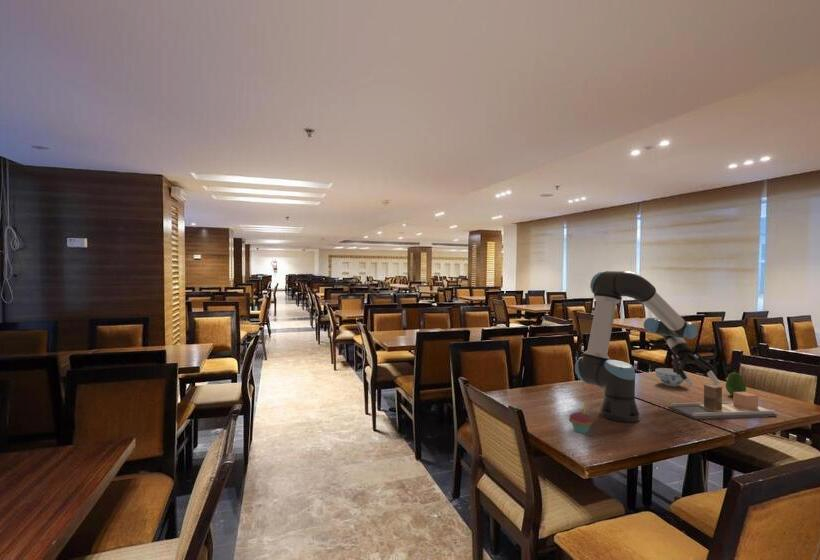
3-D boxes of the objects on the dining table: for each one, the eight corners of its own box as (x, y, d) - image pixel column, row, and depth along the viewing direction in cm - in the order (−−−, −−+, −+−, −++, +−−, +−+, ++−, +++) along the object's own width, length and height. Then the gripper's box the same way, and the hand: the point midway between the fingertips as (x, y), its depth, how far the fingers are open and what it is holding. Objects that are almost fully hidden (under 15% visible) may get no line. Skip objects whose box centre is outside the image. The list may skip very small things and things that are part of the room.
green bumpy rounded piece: (729, 392, 204) (729, 370, 204) (748, 396, 198) (748, 373, 198) (723, 395, 200) (723, 372, 200) (742, 399, 193) (742, 375, 193)
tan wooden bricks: (717, 413, 169) (717, 389, 169) (698, 406, 179) (698, 383, 179) (770, 412, 172) (770, 387, 172) (749, 404, 182) (749, 381, 182)
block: (745, 409, 173) (745, 395, 173) (733, 405, 179) (733, 392, 179) (758, 409, 173) (758, 395, 173) (745, 404, 179) (745, 391, 179)
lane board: (695, 419, 166) (695, 414, 166) (668, 407, 181) (668, 402, 181) (776, 416, 169) (776, 411, 169) (743, 405, 184) (743, 400, 184)
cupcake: (588, 427, 157) (588, 397, 157) (596, 435, 148) (596, 404, 148) (566, 426, 158) (566, 397, 158) (572, 435, 149) (573, 403, 149)
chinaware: (673, 381, 228) (673, 367, 227) (694, 388, 213) (694, 374, 213) (649, 381, 227) (649, 368, 227) (668, 388, 212) (668, 374, 212)
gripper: (697, 350, 199) (723, 387, 184) (651, 351, 197) (674, 389, 182) (706, 341, 194) (734, 379, 179) (659, 342, 191) (683, 381, 177)
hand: (704, 384), depth 180 cm, fingers open, 13 cm apart
